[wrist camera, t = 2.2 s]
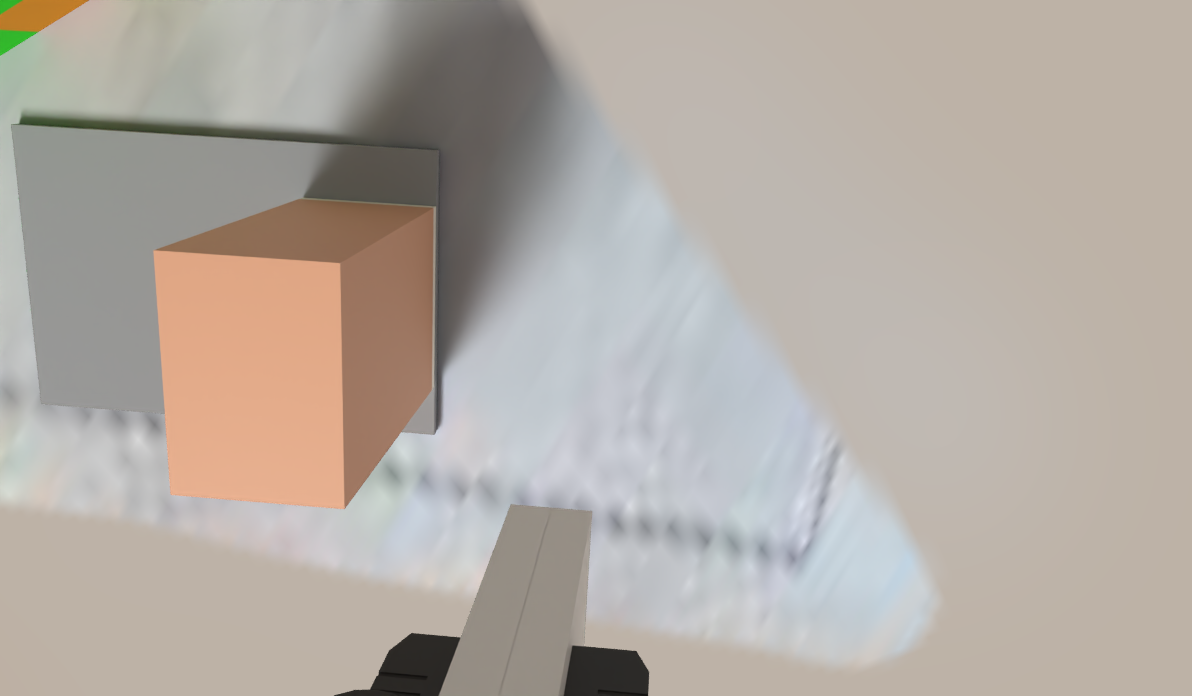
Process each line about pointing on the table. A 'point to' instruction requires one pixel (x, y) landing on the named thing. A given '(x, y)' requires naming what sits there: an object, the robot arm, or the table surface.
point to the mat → (164, 237)
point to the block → (295, 348)
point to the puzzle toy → (29, 18)
